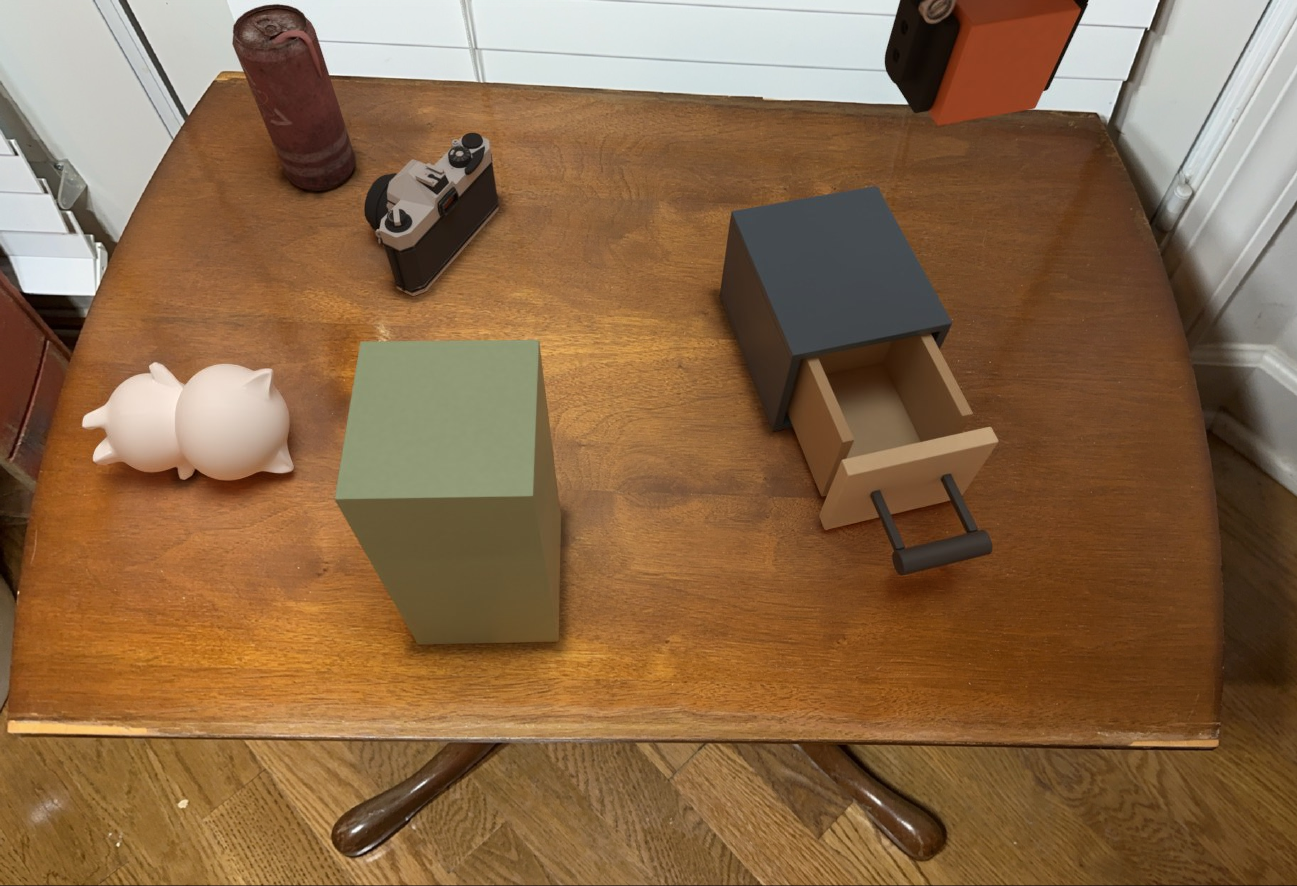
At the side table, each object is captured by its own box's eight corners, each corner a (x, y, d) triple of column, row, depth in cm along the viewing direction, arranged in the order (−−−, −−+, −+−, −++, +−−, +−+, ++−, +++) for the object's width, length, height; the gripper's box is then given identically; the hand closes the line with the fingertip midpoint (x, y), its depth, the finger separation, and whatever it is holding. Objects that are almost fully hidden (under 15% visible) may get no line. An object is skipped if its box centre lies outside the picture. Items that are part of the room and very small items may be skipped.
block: (1035, 109, 37) (1082, 9, 33) (936, 126, 36) (973, 26, 33) (986, 43, 39) (1025, -58, 36) (892, 58, 39) (921, -43, 35)
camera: (434, 171, 81) (409, 89, 73) (511, 199, 79) (493, 118, 71) (351, 278, 76) (313, 202, 68) (431, 311, 74) (401, 237, 66)
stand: (558, 641, 59) (533, 496, 42) (417, 644, 59) (333, 499, 42) (561, 516, 64) (539, 339, 47) (430, 518, 63) (359, 341, 46)
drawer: (997, 573, 61) (1042, 521, 55) (855, 608, 60) (884, 560, 53) (892, 359, 70) (920, 293, 64) (766, 385, 69) (782, 320, 62)
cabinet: (914, 401, 69) (953, 323, 61) (772, 431, 68) (792, 355, 60) (850, 270, 76) (877, 185, 68) (719, 295, 74) (731, 210, 66)
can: (346, 198, 79) (297, 55, 67) (275, 188, 79) (214, 44, 67) (369, 150, 82) (326, 5, 70) (300, 141, 82) (246, -5, 70)
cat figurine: (57, 387, 57) (250, 383, 57) (140, 330, 66) (306, 327, 66) (97, 509, 61) (278, 505, 61) (170, 439, 70) (327, 436, 70)
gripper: (955, -500, 19) (805, 178, 35) (1606, -537, 22) (1193, 107, 37) (824, -596, 23) (741, 55, 38) (1392, -617, 25) (1099, -1, 41)
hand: (966, 77), depth 38 cm, fingers closed on block, 4 cm apart
